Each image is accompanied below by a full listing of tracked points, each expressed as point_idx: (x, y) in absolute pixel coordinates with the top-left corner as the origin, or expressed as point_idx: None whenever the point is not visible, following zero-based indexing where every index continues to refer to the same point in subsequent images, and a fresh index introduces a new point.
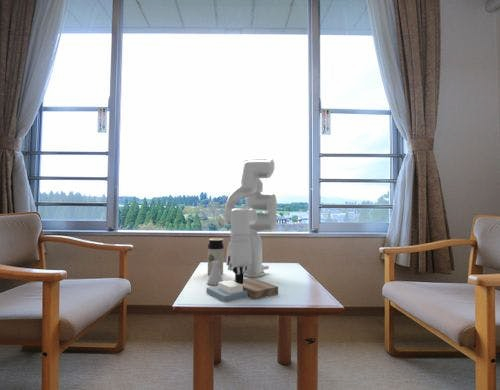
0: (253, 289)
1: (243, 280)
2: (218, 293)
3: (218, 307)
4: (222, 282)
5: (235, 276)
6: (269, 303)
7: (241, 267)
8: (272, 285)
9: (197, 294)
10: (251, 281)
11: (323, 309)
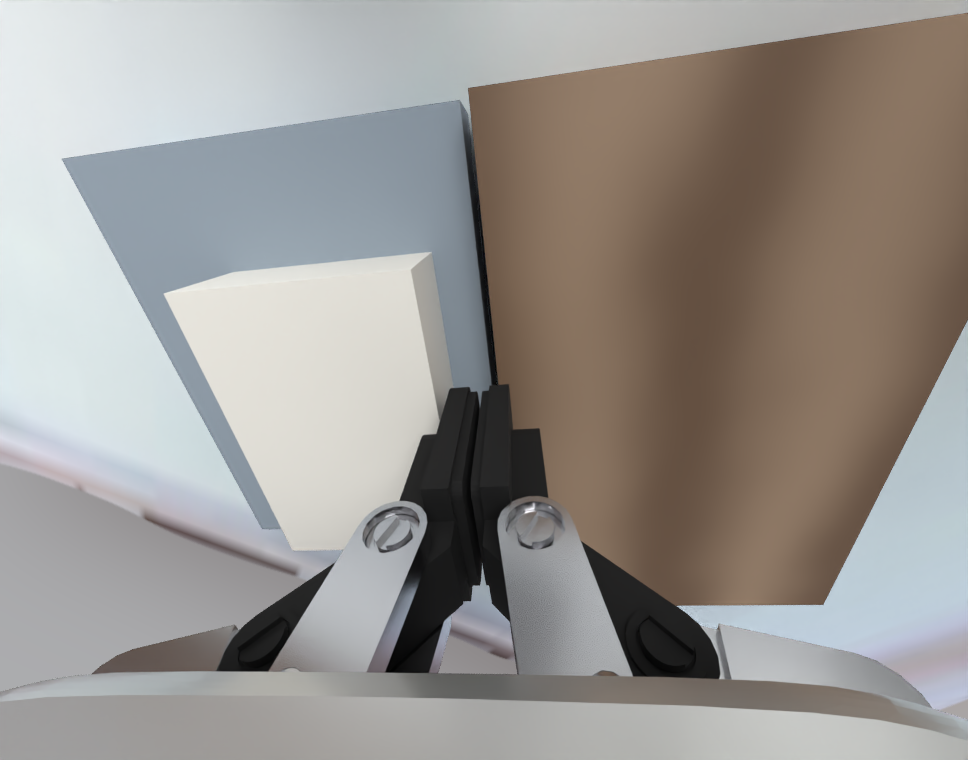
0: None
1: (756, 158)
2: (216, 443)
3: (224, 551)
4: (235, 344)
5: (407, 490)
6: None
7: (579, 655)
8: (826, 558)
9: (18, 179)
10: (807, 298)
11: None
